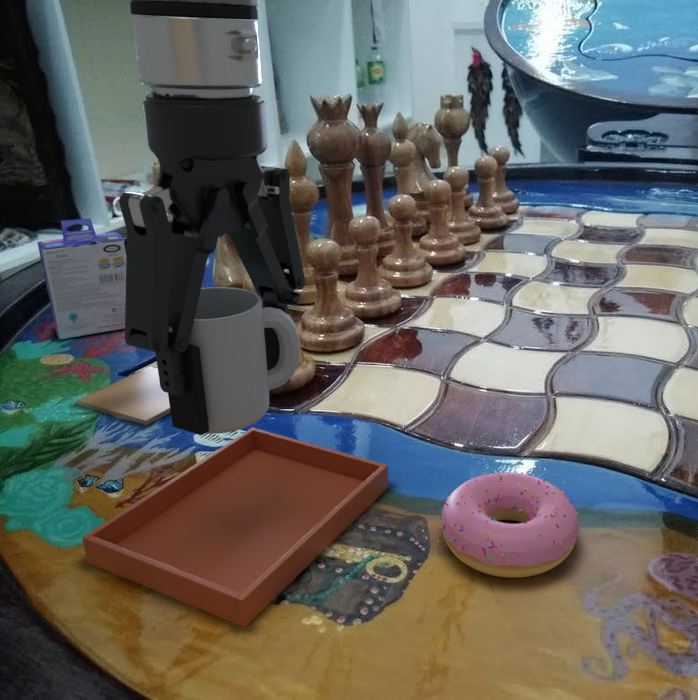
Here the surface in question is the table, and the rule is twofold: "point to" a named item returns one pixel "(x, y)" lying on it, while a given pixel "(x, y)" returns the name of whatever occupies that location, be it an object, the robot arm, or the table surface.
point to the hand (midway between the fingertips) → (235, 402)
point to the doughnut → (509, 539)
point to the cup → (240, 355)
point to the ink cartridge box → (85, 280)
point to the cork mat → (131, 398)
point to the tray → (238, 523)
